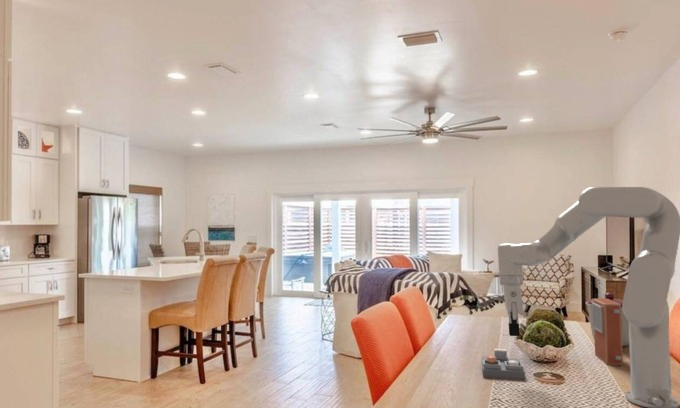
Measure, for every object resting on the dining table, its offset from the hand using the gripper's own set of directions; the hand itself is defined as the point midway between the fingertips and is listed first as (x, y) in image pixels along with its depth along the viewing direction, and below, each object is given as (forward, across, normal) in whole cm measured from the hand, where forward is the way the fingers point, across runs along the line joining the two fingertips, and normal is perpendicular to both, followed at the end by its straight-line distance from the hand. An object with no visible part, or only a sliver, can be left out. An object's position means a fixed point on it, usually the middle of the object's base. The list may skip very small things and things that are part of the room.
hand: (514, 335), depth 156 cm
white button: (+10, 0, +1) cm, 10 cm away
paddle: (+10, +10, +4) cm, 15 cm away
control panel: (+14, +26, -34) cm, 45 cm away
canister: (+14, +52, -42) cm, 69 cm away
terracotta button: (+9, 0, +8) cm, 12 cm away
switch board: (+13, +4, +4) cm, 14 cm away
